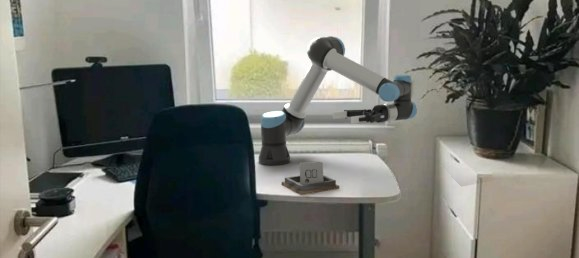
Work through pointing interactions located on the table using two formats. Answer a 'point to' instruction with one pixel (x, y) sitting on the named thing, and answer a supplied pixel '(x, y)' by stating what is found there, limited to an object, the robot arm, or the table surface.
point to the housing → (309, 185)
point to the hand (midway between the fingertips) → (341, 117)
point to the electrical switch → (311, 172)
